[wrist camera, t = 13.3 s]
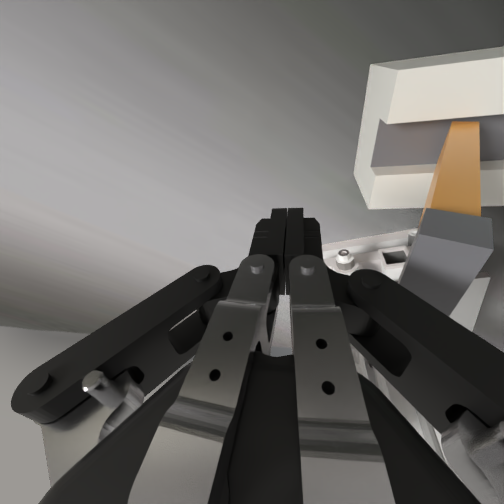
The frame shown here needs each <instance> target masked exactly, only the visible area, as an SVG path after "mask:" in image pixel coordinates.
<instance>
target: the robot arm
mask: <svg viewBox="0 0 504 504" xmlns="http://www.w3.org/2000/svg"><path fill="white" fill-rule="evenodd" d="M285 282H286V295H290V320H291V339H292V355H287V356H281V357H272V356H270V355H271V345H272V340H273V334H274V329H275V323H276V317H277V312H278V303H279V295H285ZM195 310H197V311H196V312H195V313H194V314H192V315H191V316H189V317H188V318H187V319H185V320H184V321H183V322H181V323H180V324H179V325H177V326H176V327H175V328H173V329H172V330H170V329H171V328H172V327H173V326H174V325H176V324H177V323H178V322H180V321H181V320H182V319H184V318H185V317H186V316H188V315H189V314H191V313H192V312H193V311H195ZM169 330H170V331H169ZM350 343H351V344H352V345H353V346H354V347H355V348H356V349H357V350H358V351H359V352H360V353H361V354H362V355H363V357H364V358H365V359H366V360H367V361H368V362H369V363H370V364H371V365H372V366H373V367H374V368H375V369H376V370H377V371H378V372H379V373H380V374H381V375H382V376H383V377H384V378H385V379H386V380H387V381H388V382H389V383H390V384H391V385H392V386H393V387H394V388H395V389H396V390H397V391H398V392H399V393H400V394H401V395H402V396H403V397H404V398H405V399H406V400H407V401H408V402H409V403H410V404H411V405H412V406H413V407H414V408H415V409H416V410H417V411H418V412H419V413H420V414H421V415H422V416H423V417H424V418H425V419H426V420H427V421H428V422H429V423H430V424H431V425H432V426H433V427H434V428H435V429H436V430H437V431H438V432H439V433H440V434H441V445H442V450H443V453H444V455H445V457H446V459H447V461H448V463H449V464H450V466H451V468H452V469H453V470H454V471H455V473H456V474H457V475H458V476H459V478H460V479H461V480H462V481H461V480H460V479H459V478H458V477H457V476H456V474H455V473H454V472H453V471H452V470H451V469H450V468H449V467H448V465H447V464H446V463H445V462H444V461H443V460H442V459H441V458H440V456H439V455H438V454H437V453H436V452H435V451H434V450H433V449H432V448H431V446H430V445H429V444H428V443H427V442H426V441H425V440H424V439H423V437H422V436H421V435H420V434H419V433H418V432H417V431H416V430H415V428H414V427H413V426H412V425H411V424H410V423H409V422H408V421H407V419H406V418H405V417H404V416H403V415H402V414H401V413H400V412H399V410H398V409H397V408H396V407H395V406H394V405H393V404H392V403H391V401H390V400H389V399H388V398H387V397H386V396H385V395H384V394H383V393H382V392H381V390H380V389H379V388H378V387H376V386H375V385H374V384H373V383H372V382H371V381H370V380H368V379H367V378H366V377H364V376H363V375H361V374H360V373H358V372H357V370H356V366H355V362H354V358H353V354H352V350H351V346H350ZM194 355H195V357H194V359H193V361H192V362H191V363H189V364H188V365H186V366H185V367H184V368H182V369H181V370H180V371H179V372H178V373H177V374H175V375H174V376H173V377H172V378H171V379H170V380H169V381H168V382H167V383H166V384H165V385H163V386H162V387H161V388H160V389H159V390H158V391H157V392H155V393H154V394H153V395H152V396H151V397H150V398H149V399H148V400H146V401H145V402H144V403H143V401H144V397H145V396H146V395H147V394H148V393H150V392H151V391H152V390H153V389H155V388H156V387H157V386H158V385H159V384H161V382H163V381H164V380H165V379H167V378H168V377H169V376H170V375H171V374H172V373H173V372H175V371H176V370H177V369H178V368H180V367H181V366H182V365H183V364H184V363H186V362H187V361H188V360H189V359H190V358H192V357H193V356H194ZM11 407H12V409H13V410H14V411H15V412H17V413H19V414H21V415H23V416H25V417H27V418H29V419H31V420H33V421H34V422H35V423H36V424H38V425H40V426H41V428H42V434H43V440H44V446H45V453H46V459H47V466H48V472H49V478H50V484H51V488H50V490H49V491H48V492H47V493H46V495H45V496H44V497H43V499H42V500H41V501H40V503H39V504H504V353H503V352H502V351H500V350H499V349H497V348H496V347H494V346H493V345H491V344H490V343H488V342H487V341H485V340H484V339H482V338H481V337H479V336H478V335H476V334H474V333H473V332H471V331H470V330H468V329H467V328H465V327H464V326H462V325H461V324H459V323H458V322H456V321H455V320H453V319H452V318H450V317H449V316H447V315H446V314H444V313H443V312H441V311H439V310H438V309H436V308H435V307H433V306H432V305H430V304H429V303H427V302H426V301H424V300H423V299H421V298H420V297H418V296H417V295H415V294H414V293H412V292H411V291H409V290H407V289H406V288H404V287H403V286H401V285H400V284H398V283H397V282H395V281H394V280H392V279H391V278H389V277H388V276H386V275H385V274H383V273H381V272H379V271H376V270H372V269H360V270H356V271H354V272H353V273H352V274H351V275H350V276H349V275H345V274H341V273H338V272H336V271H333V270H332V269H330V268H329V267H328V266H327V265H326V264H325V262H324V260H323V252H322V243H321V234H320V224H319V223H318V221H317V220H316V219H315V218H303V208H288V215H287V208H277V209H272V213H271V219H261V220H260V221H259V222H258V223H257V224H256V228H255V232H254V236H253V240H252V244H251V248H250V252H249V256H248V257H246V258H245V259H244V260H243V261H242V262H241V264H240V266H239V268H237V269H235V270H231V271H227V272H222V273H220V271H219V270H218V268H216V267H215V266H212V265H202V266H199V267H196V268H194V269H193V270H191V271H189V272H188V273H186V274H185V275H183V276H182V277H180V278H178V279H177V280H175V281H174V282H172V283H170V284H169V285H167V286H166V287H164V288H163V289H161V290H159V291H158V292H156V293H155V294H153V295H151V296H150V297H148V298H147V299H145V300H144V301H142V302H140V303H139V304H137V305H136V306H134V307H133V308H131V309H129V310H128V311H126V312H125V313H123V314H121V315H120V316H118V317H117V318H115V319H114V320H112V321H110V322H109V323H107V324H106V325H104V326H102V327H101V328H99V329H98V330H96V331H95V332H93V333H91V334H90V335H88V336H87V337H85V338H84V339H82V340H80V341H79V342H77V343H76V344H74V345H72V346H71V347H69V348H68V349H66V350H65V351H63V352H62V353H60V354H58V355H57V356H55V357H54V358H52V359H50V360H49V361H48V362H46V363H44V364H42V365H41V366H39V367H38V368H36V369H35V370H33V371H32V372H31V373H30V374H28V375H27V376H26V377H25V378H24V379H23V380H22V382H21V383H20V384H19V385H18V387H17V388H16V390H15V392H14V394H13V397H12V400H11Z"/></svg>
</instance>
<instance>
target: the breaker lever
mask: <svg viewBox="0 0 504 504" xmlns="http://www.w3.org/2000/svg"><path fill="white" fill-rule="evenodd" d="M493 250H494V244H493V230H492V218H486V217H481V189H480V136H479V122H463V121H452V123H451V126H450V129H449V131H448V134H447V137H446V140H445V142H444V145H443V148H442V150H441V153H440V156H439V159H438V161H437V164H436V168H435V171H434V175H433V178H432V182H431V185H430V188H429V192H428V195H427V199H426V202H425V206H424V209H423V213H422V216H421V220H420V223H419V227H418V230H417V233H416V235H415V238H414V241H413V243H412V246H411V248H410V251H409V254H408V256H407V259H406V261H405V264H404V267H403V269H402V272H401V274H400V277H399V280H398V284H400V285H401V286H403V287H404V288H406V289H407V290H409V291H411V292H412V293H414V294H415V295H417V296H418V297H420V298H421V299H423V300H424V301H426V302H427V303H429V304H430V305H432V306H433V307H435V308H436V309H438V310H439V311H441V312H443V313H444V314H446V315H447V316H450V315H451V313H452V312H453V310H454V309H455V307H456V306H457V304H458V303H459V301H460V300H461V298H462V297H463V295H464V294H465V292H466V291H467V289H468V288H469V286H470V285H471V283H472V282H473V280H474V279H475V277H476V276H477V274H478V273H479V271H480V270H481V268H482V267H483V265H484V264H485V262H486V261H487V259H488V258H489V256H490V255H491V253H492V252H493Z"/></svg>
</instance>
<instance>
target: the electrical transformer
mask: <svg viewBox="0 0 504 504" xmlns="http://www.w3.org/2000/svg"><path fill="white" fill-rule="evenodd" d="M417 230H418V228H416V229H410V230H404V231H399V232H393V233H387V234H381V235H375V236H370V237H364V238H358V239H352V240H346V241H341V242H335V243H329V244H323V245H322V252H323V260H324V262H325V264H326V265H327V266H328V267H329V268H330V269H332V270H333V271H336V272H338V273H341V274H345V275H349V276H350V275H351V274H352V273H353V272H354V271H356V270H360V269H372V270H376V271H379V272H381V273H383V274H385V275H386V276H388V277H389V278H391V279H392V280H394V281H395V282H397V283H398V280H399V277H400V274H401V272H402V269H403V267H404V264H405V261H406V259H407V256H408V254H409V251H410V248H411V246H412V243H413V241H414V238H415V235H416V233H417ZM490 278H491V277H490V276H489V275H488V273H487V272H486V271H485V272H479V273H478V274H477V276H476V277H475V279H474V280H473V282H472V283H471V285H470V286H469V288H468V289H467V291H466V292H465V294H464V295H463V297H462V298H461V300H460V301H459V303H458V304H457V306H456V307H455V309H454V310H453V312H452V313H451V315H450V316H449V317H450V318H452V319H453V320H455V321H456V322H458V323H459V324H461V325H462V326H464V327H465V328H467V329H468V330H470V331H471V332H472V331H473V329H474V326H475V323H476V320H477V317H478V314H479V311H480V308H481V305H482V302H483V299H484V296H485V293H486V290H487V287H488V284H489V281H490ZM350 346H351V350H352V354H353V358H354V362H355V366H356V370H357V372H358V373H360V374H361V375H363V376H364V377H366V378H367V379H368V380H370V381H371V382H372V383H373V384H374V385H375V386H376V387H378V388H379V389H380V390H381V392H382V393H383V394H384V395H385V396H386V397H387V398H388V399H389V400H390V401H391V403H392V404H393V405H394V406H395V407H396V408H397V409H398V410H399V412H400V413H401V414H402V415H403V416H404V417H405V418H406V419H407V421H408V422H409V423H410V424H411V425H412V426H413V427H414V428H415V430H416V431H417V432H418V433H419V434H420V435H421V436H422V437H423V439H424V440H425V441H426V442H427V443H428V444H429V445H430V446H431V448H432V449H433V450H434V451H435V452H436V453H437V454H438V455H439V456H440V458H441V459H442V460H443V461H444V462H445V463H446V464H447V465H448V467H449V468H450V469H451V470H452V471H453V472H454V473H455V471H454V470H453V469H452V468H451V466H450V464H449V463H448V461H447V459H446V457H445V455H444V453H443V450H442V445H441V434H440V433H439V432H438V431H437V430H436V429H435V428H434V427H433V426H432V425H431V424H430V423H429V422H428V421H427V420H426V419H425V418H424V417H423V416H422V415H421V414H420V413H419V412H418V411H417V410H416V409H415V408H414V407H413V406H412V405H411V404H410V403H409V402H408V401H407V400H406V399H405V398H404V397H403V396H402V395H401V394H400V393H399V392H398V391H397V390H396V389H395V388H394V387H393V386H392V385H391V384H390V383H389V382H388V381H387V380H386V379H385V378H384V377H383V376H382V375H381V374H380V373H379V372H378V371H377V370H376V369H375V368H374V367H373V366H372V365H371V364H370V363H369V362H368V361H367V360H366V359H365V358H364V357H363V355H362V354H361V353H360V352H359V351H358V350H357V349H356V348H355V347H354V346H353V345H352V344H351V343H350ZM455 474H456V473H455ZM456 476H457V477H458V478H459V476H458V475H457V474H456ZM459 479H460V478H459ZM460 480H461V479H460ZM461 481H462V480H461Z"/></svg>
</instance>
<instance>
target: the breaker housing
mask: <svg viewBox="0 0 504 504" xmlns="http://www.w3.org/2000/svg"><path fill="white" fill-rule="evenodd" d="M452 121H463V122H479V136H480V189H481V206H504V46H503V47H496V48H488V49H481V50H473V51H466V52H458V53H451V54H443V55H436V56H428V57H421V58H413V59H406V60H398V61H391V62H383V63H376V64H370V71H369V77H368V84H367V90H366V97H365V103H364V110H363V116H362V123H361V129H360V136H359V142H358V149H357V155H356V162H355V168H354V176H355V179H356V181H357V183H358V186H359V188H360V190H361V193H362V195H363V197H364V200H365V202H366V204H367V207H368V209H396V208H424V206H425V202H426V199H427V195H428V192H429V188H430V185H431V182H432V178H433V175H434V171H435V168H436V164H437V161H438V159H439V156H440V153H441V150H442V148H443V145H444V142H445V140H446V137H447V134H448V131H449V129H450V126H451V123H452Z"/></svg>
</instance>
